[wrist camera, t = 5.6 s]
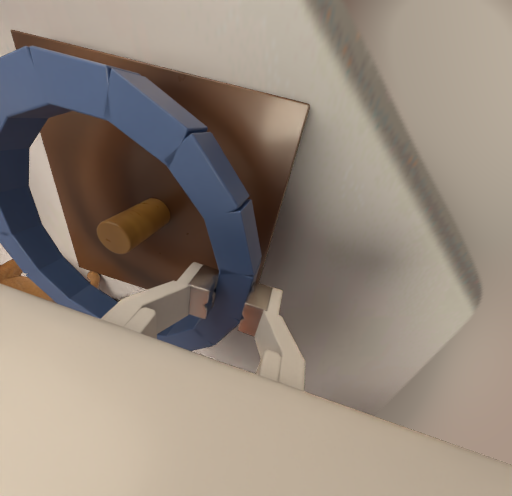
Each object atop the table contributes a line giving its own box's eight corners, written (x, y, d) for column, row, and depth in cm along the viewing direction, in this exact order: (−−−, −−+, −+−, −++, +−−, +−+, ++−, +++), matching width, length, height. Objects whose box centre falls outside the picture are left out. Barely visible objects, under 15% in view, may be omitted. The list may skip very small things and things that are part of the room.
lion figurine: (20, 267, 25) (-104, 330, 18) (5, 228, 23) (-150, 284, 15) (136, 313, 25) (61, 398, 18) (136, 281, 22) (46, 365, 15)
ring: (302, 116, 8) (299, 114, 6) (232, 359, 16) (224, 382, 14) (-57, 22, 9) (-123, 5, 8) (49, 289, 17) (26, 304, 16)
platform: (310, 106, 12) (309, 97, 7) (251, 305, 20) (232, 366, 15) (48, 40, 13) (-118, -9, 8) (96, 255, 22) (31, 297, 17)
